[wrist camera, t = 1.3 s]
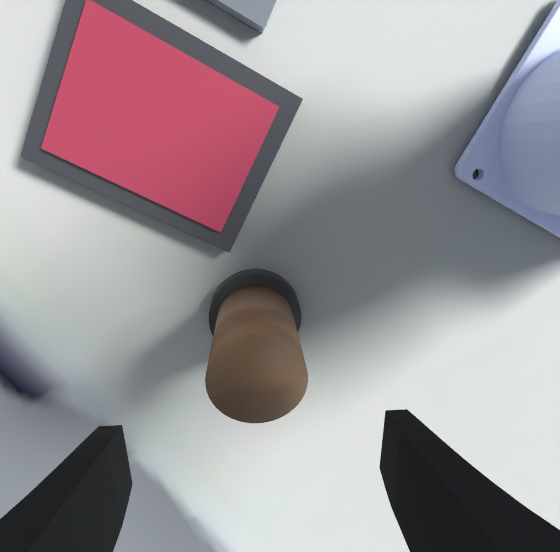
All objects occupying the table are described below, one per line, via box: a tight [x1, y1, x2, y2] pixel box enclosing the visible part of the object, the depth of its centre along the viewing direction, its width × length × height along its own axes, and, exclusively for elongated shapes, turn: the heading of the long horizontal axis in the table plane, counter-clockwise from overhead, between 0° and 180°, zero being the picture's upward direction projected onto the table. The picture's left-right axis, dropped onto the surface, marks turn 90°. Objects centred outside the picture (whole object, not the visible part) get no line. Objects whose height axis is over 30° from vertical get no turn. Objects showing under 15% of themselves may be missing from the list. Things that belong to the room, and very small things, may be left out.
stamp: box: [205, 269, 308, 423], centre depth 16 cm, size 4×4×6 cm
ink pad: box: [20, 0, 303, 252], centre depth 15 cm, size 9×7×1 cm
